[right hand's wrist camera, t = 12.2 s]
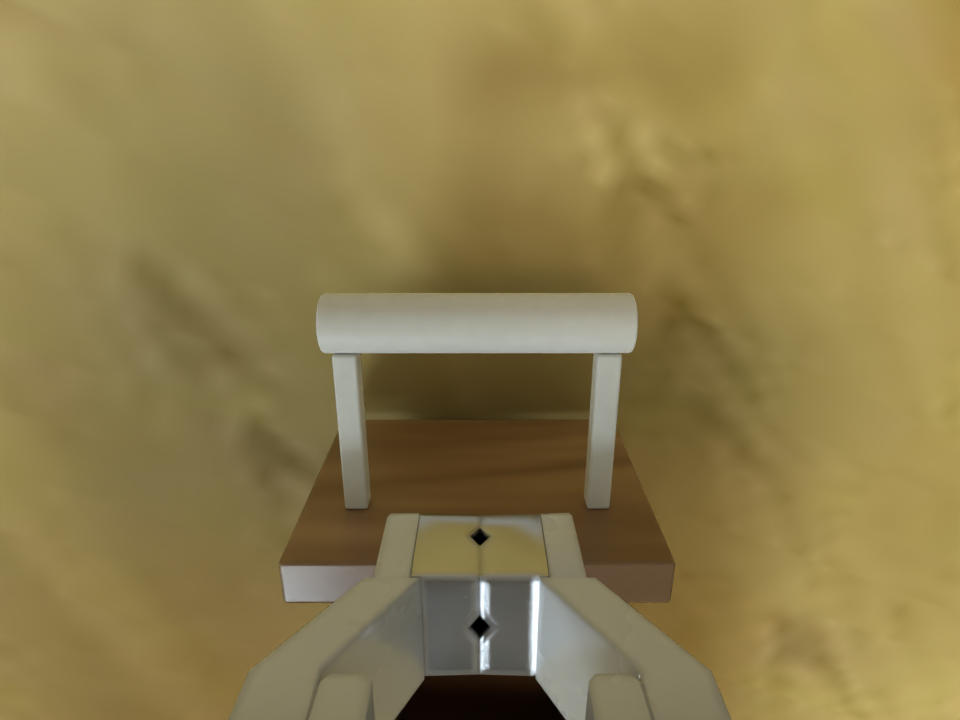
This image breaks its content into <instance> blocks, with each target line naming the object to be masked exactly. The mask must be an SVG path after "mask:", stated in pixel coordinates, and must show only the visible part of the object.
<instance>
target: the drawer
mask: <svg viewBox="0 0 960 720" xmlns="http://www.w3.org/2000/svg"><path fill="white" fill-rule="evenodd" d="M637 333H638V310H637V304H636V300H635V297H634V296H633V294H631V293H323V294H321V296H320V297H319V300H318V304H317V309H316V335H317V340H318V344H319V347H320V350H321V351H322V352H324V353H334V354H333V356H332V365H333V376H334V387H335V398H336V410H337V421H338V432H337V435H336V437H335V439H334V441H333V443H332V446H331V448H330V450H329V452H328V455H327V457H326V459H325V461H324V464H323V466H322V468H321V470H320V472H319V475H318V477H317V479H316V481H315V484H314V486H313V488H312V490H311V493H310V495H309V497H308V499H307V501H306V504H305V506H304V508H303V510H302V513H301V515H300V517H299V519H298V522H297V524H296V526H295V528H294V530H293V533H292V535H291V537H290V539H289V542H288V544H287V546H286V548H285V551H284V553H283V555H282V557H281V560H280V562H279V568H280V576H281V583H282V590H283V597H284V601H285V602H287V603H334V602H335V601H336V600H337V599H339V598H340V597H341V596H342V595H343V594H345V593H346V592H347V591H348V590H350V589H351V588H352V587H353V586H355V585H356V584H357V583H358V582H360V581H361V580H362V579H363V578H373V577H374V572H375V568H376V564H377V559H378V555H379V551H380V546H381V542H382V538H383V534H384V529H385V525H386V521H387V517H388V516H389V515H390V513H419V514H420V515H421V513H431V514H479V515H531V514H547V513H570V514H571V515H572V517H573V521H574V526H575V530H576V534H577V538H578V543H579V547H580V551H581V555H582V560H583V564H584V568H585V572H586V577H587V578H597V579H598V580H599V581H600V582H602V583H603V584H604V585H605V586H607V587H608V588H609V589H610V590H612V591H613V592H614V593H615V594H616V595H618V596H619V597H620V598H621V599H623V600H624V601H625V602H669V601H670V599H671V592H672V584H673V577H674V569H675V561H674V559H673V557H672V554H671V552H670V550H669V548H668V545H667V543H666V541H665V538H664V536H663V534H662V532H661V529H660V527H659V525H658V522H657V520H656V518H655V516H654V513H653V511H652V509H651V506H650V504H649V502H648V500H647V497H646V495H645V493H644V491H643V488H642V486H641V484H640V481H639V479H638V477H637V475H636V472H635V470H634V468H633V465H632V463H631V461H630V459H629V456H628V454H627V452H626V449H625V447H624V445H623V443H622V440H621V438H620V436H619V433H618V431H617V429H616V425H617V413H618V401H619V390H620V378H621V366H622V355H621V354H620V353H630V352H632V351H633V349H634V347H635V344H636V340H637ZM361 353H594V356H593V370H592V385H591V400H590V414H589V420H365V408H364V394H363V380H362V366H361ZM395 720H566V719H565V718H564V717H563V715H562V714H561V713H560V711H559V710H558V708H557V707H556V706H555V704H554V703H553V702H552V700H551V699H550V698H549V696H548V695H547V693H546V692H545V691H544V689H543V688H542V687H541V685H540V684H539V683H538V681H537V680H536V676H520V675H484V674H474V675H440V676H424V681H423V682H422V683H421V685H420V686H419V687H418V689H417V690H416V691H415V693H414V694H413V695H412V697H411V698H410V700H409V701H408V702H407V704H406V705H405V706H404V708H403V709H402V710H401V712H400V713H399V714H398V716H397V717H396V718H395Z"/></svg>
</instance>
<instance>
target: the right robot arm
mask: <svg viewBox="0 0 960 720" xmlns="http://www.w3.org/2000/svg"><path fill="white" fill-rule="evenodd" d="M474 674H484V675H520V676H536V680H537V681H538V683H539V684H540V685H541V687H542V688H543V689H544V691H545V692H546V693H547V695H548V696H549V698H550V699H551V700H552V702H553V703H554V704H555V706H556V707H557V708H558V710H559V711H560V713H561V714H562V715H563V717H564V718H565V719H566V720H731V717H730V715H729V712H728V710H727V708H726V705H725V703H724V700H723V698H722V696H721V693H720V691H719V688H718V686H717V684H716V681H715V679H714V676H713V674H712V672H711V671H710V670H709V669H708V668H707V667H705V666H704V665H703V664H702V663H700V662H699V661H698V660H697V659H695V658H694V657H693V656H692V655H690V654H689V653H688V652H687V651H686V650H684V649H683V648H682V647H681V646H679V645H678V644H677V643H676V642H674V641H673V640H672V639H671V638H670V637H668V636H667V635H666V634H665V633H663V632H662V631H661V630H660V629H658V628H657V627H656V626H655V625H653V624H652V623H651V622H650V621H649V620H647V619H646V618H645V617H644V616H642V615H641V614H640V613H639V612H637V611H636V610H635V609H634V608H633V607H631V606H630V605H629V604H628V603H626V602H625V601H624V600H623V599H621V598H620V597H619V596H618V595H616V594H615V593H614V592H613V591H612V590H610V589H609V588H608V587H607V586H605V585H604V584H603V583H602V582H600V581H599V580H598V579H597V578H587V577H586V572H585V568H584V564H583V560H582V555H581V551H580V547H579V543H578V538H577V534H576V530H575V526H574V521H573V517H572V515H571V514H570V513H547V514H531V515H479V514H431V513H421V515H420V514H419V513H390V515H389V516H388V517H387V521H386V525H385V529H384V534H383V538H382V542H381V546H380V551H379V555H378V559H377V564H376V568H375V572H374V577H373V578H363V579H362V580H361V581H360V582H358V583H357V584H356V585H355V586H353V587H352V588H351V589H350V590H348V591H347V592H346V593H345V594H343V595H342V596H341V597H340V598H339V599H337V600H336V601H335V602H334V603H332V604H331V605H330V606H329V607H327V608H326V609H325V610H324V611H322V612H321V613H320V614H319V615H317V616H316V617H315V618H314V619H312V620H311V621H310V622H309V623H308V624H306V625H305V626H304V627H303V628H301V629H300V630H299V631H298V632H296V633H295V634H294V635H293V636H291V637H290V638H289V639H288V640H286V641H285V642H284V643H283V644H281V645H280V646H279V647H278V648H277V649H275V650H274V651H273V652H272V653H270V654H269V655H268V656H267V657H265V658H264V659H263V660H262V661H260V662H259V663H258V664H257V665H255V666H254V667H253V668H252V669H250V670H249V672H248V675H247V677H246V679H245V682H244V684H243V687H242V689H241V691H240V694H239V696H238V698H237V701H236V703H235V706H234V708H233V710H232V713H231V715H230V717H229V720H395V718H396V717H397V716H398V714H399V713H400V712H401V710H402V709H403V708H404V706H405V705H406V704H407V702H408V701H409V700H410V698H411V697H412V695H413V694H414V693H415V691H416V690H417V689H418V687H419V686H420V685H421V683H422V682H423V681H424V676H440V675H474Z"/></svg>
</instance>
